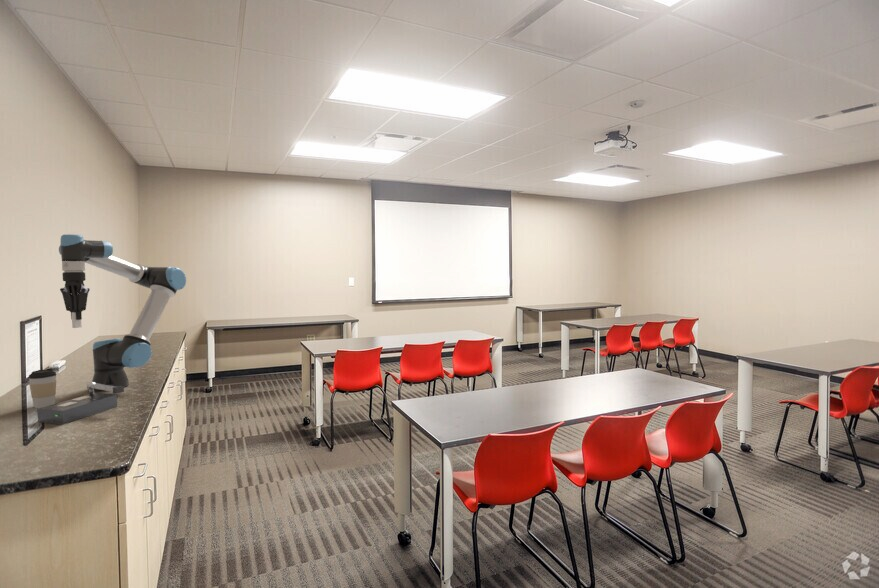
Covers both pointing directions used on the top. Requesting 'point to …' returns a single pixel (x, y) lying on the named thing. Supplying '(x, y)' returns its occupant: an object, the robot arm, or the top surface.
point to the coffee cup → (43, 387)
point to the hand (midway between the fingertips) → (77, 327)
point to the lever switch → (77, 408)
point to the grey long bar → (105, 387)
